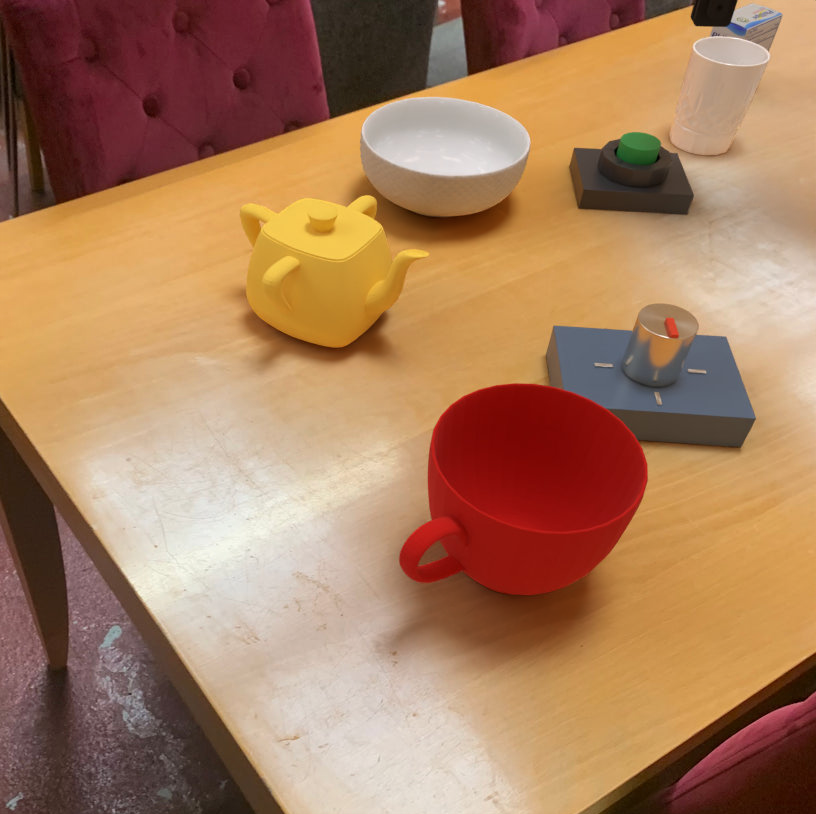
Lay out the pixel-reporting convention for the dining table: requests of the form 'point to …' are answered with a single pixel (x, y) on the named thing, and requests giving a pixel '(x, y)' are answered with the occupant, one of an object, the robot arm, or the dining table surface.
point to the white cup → (716, 93)
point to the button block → (629, 182)
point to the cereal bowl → (443, 155)
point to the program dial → (659, 344)
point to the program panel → (656, 406)
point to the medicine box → (752, 25)
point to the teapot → (322, 268)
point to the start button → (638, 148)
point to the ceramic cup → (526, 489)
